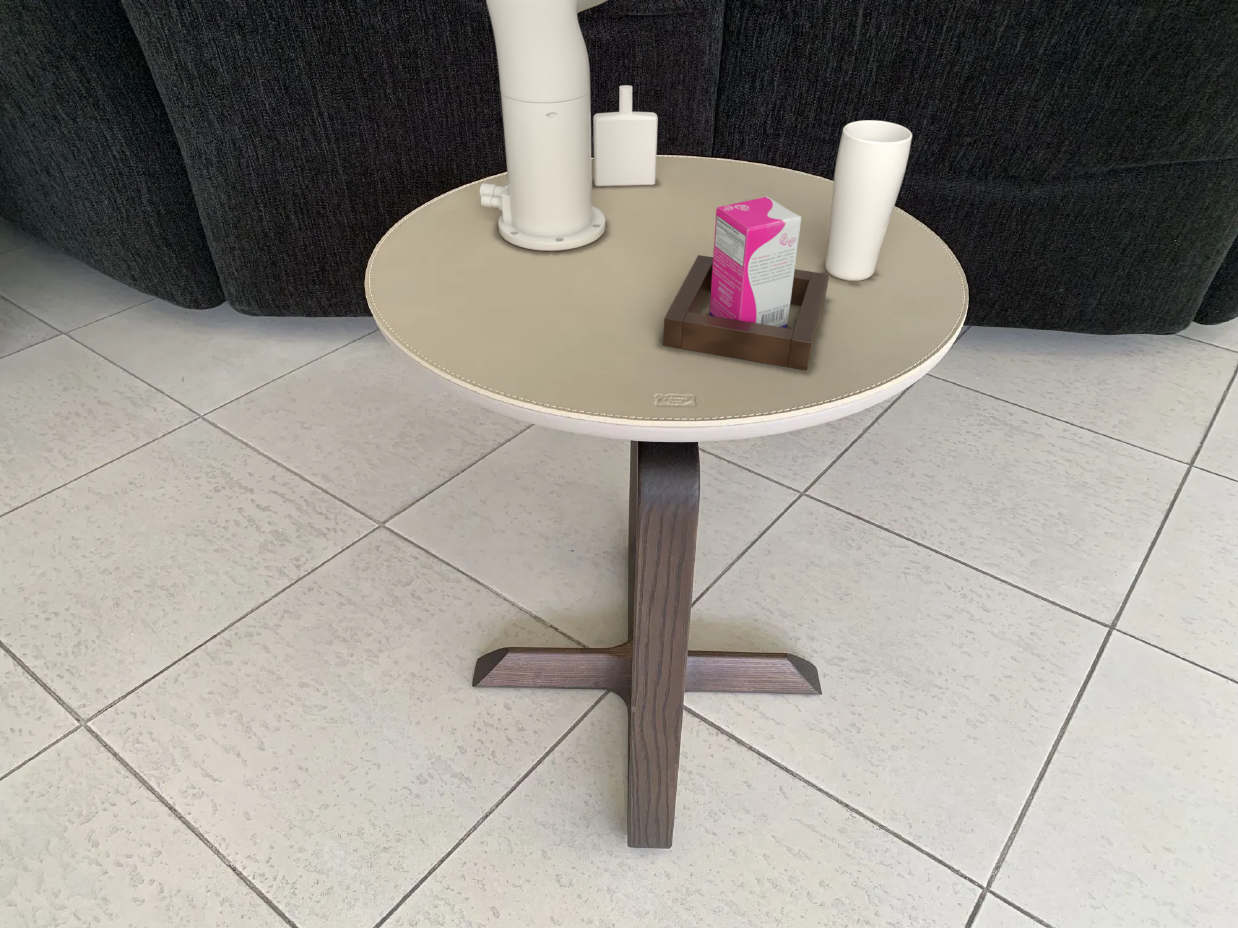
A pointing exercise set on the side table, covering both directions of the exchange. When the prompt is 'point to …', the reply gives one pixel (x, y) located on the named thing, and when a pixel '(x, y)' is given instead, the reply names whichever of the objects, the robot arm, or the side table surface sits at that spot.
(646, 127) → the perfume bottle
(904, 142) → the drinking glass
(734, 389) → the side table surface
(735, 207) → the supplement box
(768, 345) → the socket
